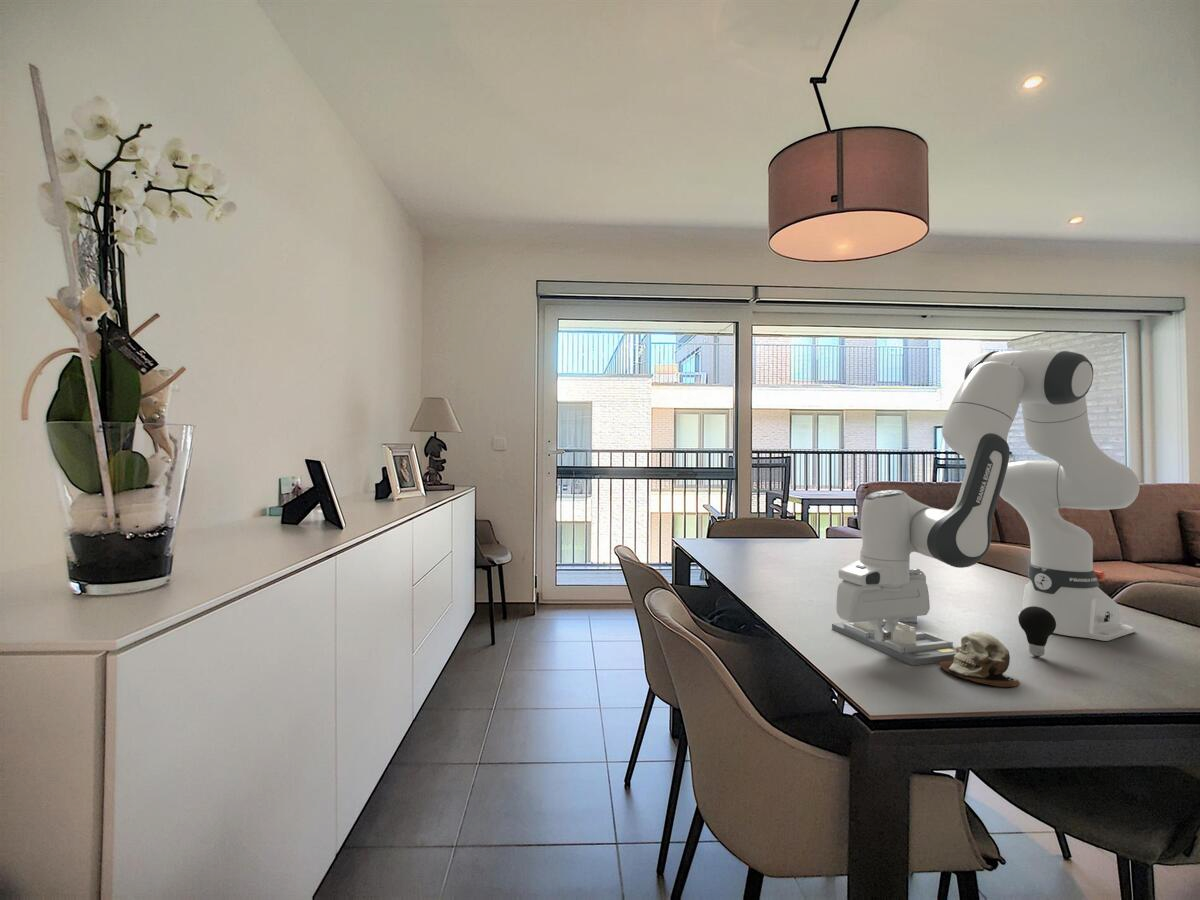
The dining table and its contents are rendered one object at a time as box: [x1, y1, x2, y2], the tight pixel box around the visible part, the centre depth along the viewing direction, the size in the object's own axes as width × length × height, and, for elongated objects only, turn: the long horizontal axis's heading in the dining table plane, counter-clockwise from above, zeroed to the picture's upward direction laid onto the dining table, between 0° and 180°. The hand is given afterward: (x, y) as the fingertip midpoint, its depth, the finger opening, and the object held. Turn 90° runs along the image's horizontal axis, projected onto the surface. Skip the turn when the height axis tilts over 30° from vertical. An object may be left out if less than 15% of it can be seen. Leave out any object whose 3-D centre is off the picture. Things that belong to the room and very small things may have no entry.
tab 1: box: [853, 621, 874, 632], centre depth 120 cm, size 3×4×4 cm
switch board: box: [831, 619, 957, 667], centre depth 117 cm, size 22×14×2 cm, turn 17°
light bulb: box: [1017, 606, 1056, 658], centre depth 109 cm, size 6×6×10 cm
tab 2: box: [888, 621, 917, 646], centre depth 111 cm, size 3×4×4 cm
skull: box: [938, 631, 1020, 688], centre depth 101 cm, size 12×10×10 cm
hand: (883, 639), depth 110 cm, fingers closed
